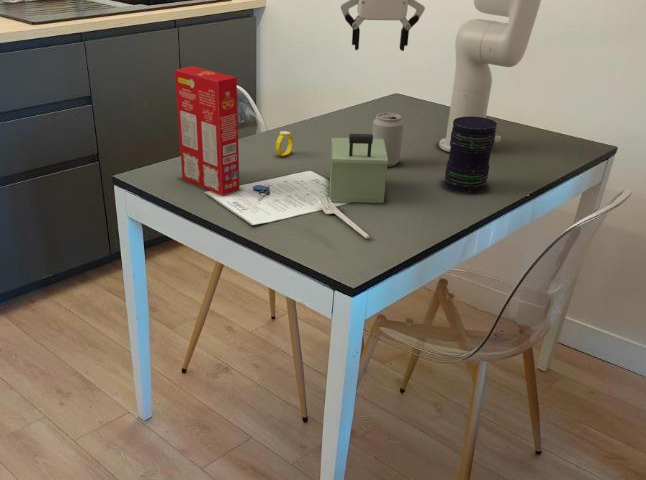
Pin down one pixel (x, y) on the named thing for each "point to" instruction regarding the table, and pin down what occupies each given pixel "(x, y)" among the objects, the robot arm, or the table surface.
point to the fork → (340, 215)
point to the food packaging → (208, 129)
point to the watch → (279, 140)
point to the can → (389, 134)
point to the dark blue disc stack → (469, 154)
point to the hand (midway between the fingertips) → (379, 49)
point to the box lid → (359, 149)
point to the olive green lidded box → (357, 182)
